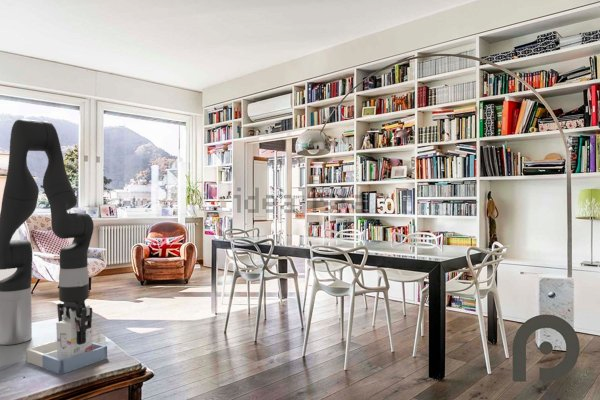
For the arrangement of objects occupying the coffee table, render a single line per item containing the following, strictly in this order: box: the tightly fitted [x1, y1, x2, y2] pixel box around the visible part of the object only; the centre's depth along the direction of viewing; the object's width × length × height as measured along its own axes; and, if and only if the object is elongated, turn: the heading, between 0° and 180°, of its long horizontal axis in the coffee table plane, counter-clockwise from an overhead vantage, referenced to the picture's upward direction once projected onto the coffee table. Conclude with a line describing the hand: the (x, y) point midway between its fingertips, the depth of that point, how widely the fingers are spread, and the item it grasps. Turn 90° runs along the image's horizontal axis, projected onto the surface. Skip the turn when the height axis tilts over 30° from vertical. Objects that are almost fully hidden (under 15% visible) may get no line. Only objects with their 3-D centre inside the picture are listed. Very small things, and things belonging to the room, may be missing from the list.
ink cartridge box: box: [55, 305, 93, 360], centre depth 124 cm, size 9×5×15 cm, turn 168°
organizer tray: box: [25, 339, 108, 375], centre depth 126 cm, size 18×14×4 cm
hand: (74, 341), depth 124 cm, fingers closed on ink cartridge box, 6 cm apart
